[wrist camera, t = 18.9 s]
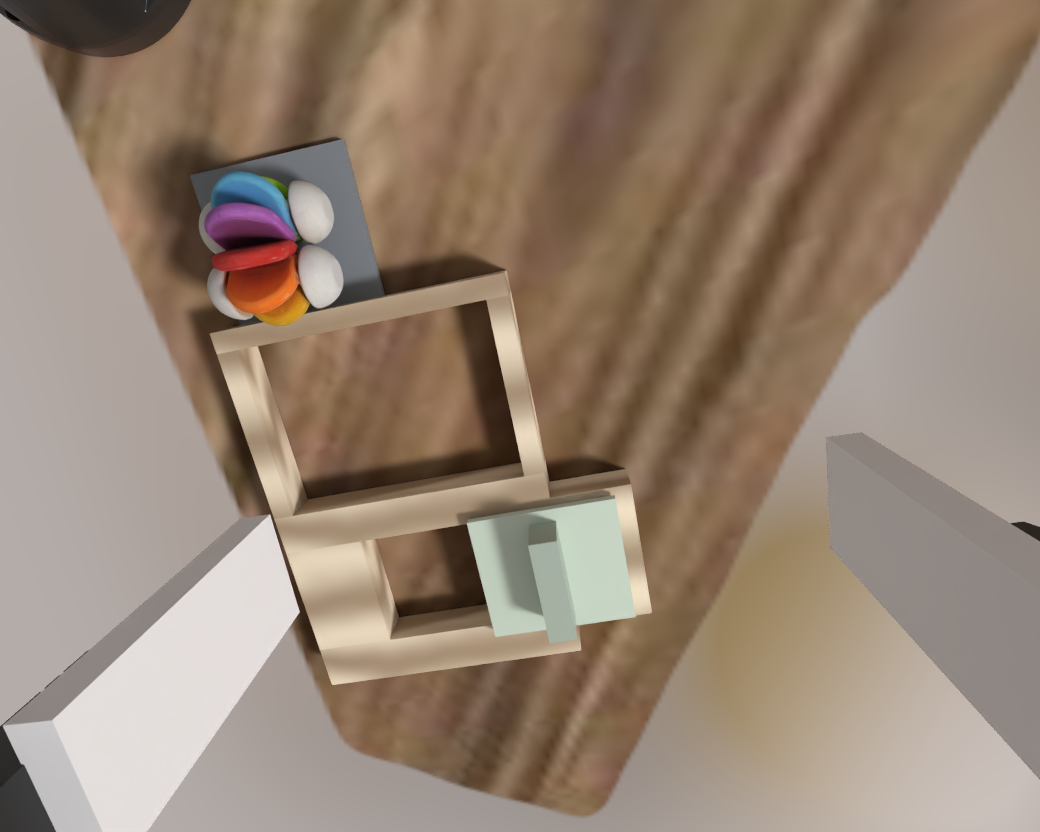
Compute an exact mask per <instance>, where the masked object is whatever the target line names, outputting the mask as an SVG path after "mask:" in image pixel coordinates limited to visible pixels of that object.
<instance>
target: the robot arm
mask: <svg viewBox="0 0 1040 832" xmlns="http://www.w3.org/2000/svg"><path fill="white" fill-rule="evenodd" d="M190 1H191V0H0V13H1V14H2V15H3V16H4V17H6V18H7V19H8V20H10V21H11V22H12V23H14V24H15V25H17V26H18V27H20V28H22V29H23V30H25V31H27V32H29V33H30V34H32V35H34V36H36V37H38V38H40V39H43V40H45V41H48V42H50V43H53V44H55V45H58V46H61V47H63V48H66V49H68V50H71V51H74V52H77V53H81V54H85V55H90V56H98V57H115V56H123V55H127V54H131V53H135V52H138V51H140V50H142V49H145V48H147V47H149V46H150V45H152V44H154V43H155V42H157V41H158V40H160V39H161V38H162V37H163V36H165V35H166V34H167V33H168V32H169V31H170V30H171V29H172V28H173V27H174V26H175V25H176V23H177V22H178V21H179V19H180V18H181V17H182V15H183V14H184V12H185V10H186V9H187V7H188V5H189V3H190ZM826 453H827V478H828V505H829V532H830V548H831V549H832V551H833V552H834V553H835V554H836V555H837V556H838V557H839V558H840V559H841V561H843V563H844V564H845V565H846V566H847V567H848V568H849V569H850V570H851V571H852V573H853V574H854V575H855V576H856V577H857V578H858V579H859V580H860V582H861V583H862V584H863V585H864V586H865V587H866V588H867V589H868V590H869V591H870V592H871V594H872V595H873V596H874V597H875V598H876V599H877V600H878V601H879V603H880V604H881V605H882V606H883V607H884V608H885V609H886V610H887V611H888V612H889V614H891V616H892V617H893V618H894V619H895V620H896V621H897V622H898V624H899V625H900V626H901V627H902V628H903V629H904V630H905V631H906V632H907V633H908V635H909V636H910V637H911V638H912V639H913V640H914V641H915V642H916V643H917V644H918V645H919V647H920V648H921V649H922V650H923V651H924V652H925V653H926V654H927V656H928V657H929V658H930V659H931V660H932V661H933V662H934V663H935V664H936V665H937V666H938V668H939V669H940V670H941V671H942V672H943V673H944V674H945V675H946V676H947V678H948V679H949V680H950V681H951V682H952V683H953V684H954V685H955V686H956V688H957V689H958V690H959V691H960V692H961V693H962V694H963V695H964V696H965V698H967V700H968V701H969V702H970V703H971V704H972V705H973V706H974V707H975V708H976V709H977V711H978V712H979V713H980V714H981V715H982V716H983V717H984V718H985V720H986V721H987V722H988V723H989V724H990V725H991V726H992V727H993V728H994V730H996V732H997V733H998V734H999V735H1000V736H1001V737H1002V738H1003V739H1004V741H1005V742H1006V743H1007V744H1008V745H1009V746H1010V747H1011V748H1012V749H1013V750H1014V752H1015V753H1016V754H1017V755H1018V756H1019V757H1020V758H1021V759H1022V760H1023V762H1024V763H1025V764H1026V765H1027V766H1028V767H1029V768H1030V769H1031V770H1032V771H1033V773H1034V774H1035V775H1036V776H1037V777H1038V778H1039V779H1040V527H1038V526H1035V525H1032V524H1029V523H1026V522H1017V523H1009V522H1007V521H1005V520H1004V519H1002V518H1000V517H999V516H997V515H995V514H994V513H992V512H991V511H989V510H987V509H986V508H984V507H983V506H981V505H979V504H978V503H976V502H974V501H973V500H971V499H969V498H968V497H966V496H964V495H963V494H961V493H960V492H958V491H956V490H955V489H953V488H952V487H950V486H948V485H947V484H945V483H943V482H942V481H940V480H939V479H937V478H935V477H934V476H932V475H930V474H929V473H927V472H925V471H924V470H922V469H921V468H919V467H917V466H916V465H914V464H912V463H911V462H909V461H908V460H906V459H904V458H903V457H901V456H899V455H898V454H896V453H895V452H893V451H891V450H890V449H888V448H886V447H885V446H883V445H881V444H880V443H878V442H877V441H875V440H873V439H872V438H870V437H868V436H867V435H865V434H864V433H853V434H846V435H839V436H832V437H826ZM299 612H300V611H299V608H298V605H297V601H296V598H295V595H294V592H293V588H292V585H291V582H290V578H289V575H288V572H287V569H286V565H285V562H284V559H283V555H282V552H281V549H280V546H279V542H278V539H277V536H276V532H275V529H274V526H273V523H272V519H271V516H270V514H269V515H262V516H255V517H247V518H241V519H239V520H238V521H237V522H236V523H235V524H234V525H233V526H231V527H230V528H229V529H228V530H227V531H226V532H225V533H223V534H222V535H221V536H220V537H219V538H218V539H216V540H215V541H214V542H213V543H212V544H211V545H210V546H208V547H207V548H206V549H205V550H204V551H203V552H202V553H200V554H199V555H198V556H197V557H196V558H195V559H193V560H192V561H191V562H190V563H189V564H188V565H187V566H186V567H184V568H183V569H182V570H181V571H180V572H179V573H177V574H176V575H175V576H174V577H173V578H172V579H170V580H169V581H168V582H167V583H166V584H165V585H164V586H163V587H161V588H160V589H159V590H158V591H157V592H156V593H154V594H153V595H152V596H151V597H150V598H149V599H148V600H146V601H145V602H144V603H143V604H142V605H141V606H139V607H138V608H137V609H136V610H135V611H134V612H133V613H131V614H130V615H129V616H128V617H127V618H126V619H125V620H123V621H122V622H121V623H120V624H119V625H118V626H116V627H115V628H114V629H113V630H112V631H111V632H110V633H108V634H107V635H106V636H105V637H104V638H103V639H102V640H100V641H99V642H98V643H97V644H96V645H95V646H93V647H92V648H91V649H90V650H89V651H87V652H85V653H84V654H83V655H82V656H81V657H80V658H79V659H77V660H76V661H75V662H74V663H73V664H72V665H70V666H69V667H68V668H67V669H66V670H65V671H64V673H63V674H61V675H59V676H58V677H57V678H56V679H54V680H53V681H52V682H51V683H50V684H49V685H47V686H46V687H45V689H44V690H43V691H42V692H39V693H38V694H37V695H36V696H35V697H34V698H32V699H31V700H30V701H29V702H28V703H27V704H26V705H24V706H23V707H22V708H21V709H20V710H19V711H18V712H16V713H15V714H14V715H13V716H12V717H11V718H10V719H8V720H7V721H6V722H5V723H4V724H3V725H1V726H0V832H147V831H148V830H149V828H150V827H151V825H152V824H153V822H154V821H155V819H156V818H157V817H158V815H159V814H160V812H161V811H162V809H163V808H164V807H165V805H166V803H167V802H168V801H169V799H170V798H171V797H172V795H173V794H174V792H175V791H176V789H177V788H178V786H179V785H180V784H181V782H182V781H183V779H184V778H185V776H186V775H187V773H188V772H189V770H190V769H191V768H192V766H193V765H194V763H195V762H196V761H197V759H198V758H199V756H200V755H201V753H202V752H203V751H204V749H205V748H206V746H207V745H208V743H209V742H210V740H211V739H212V738H213V736H214V734H215V733H216V732H217V730H218V729H219V728H220V726H221V725H222V723H223V722H224V720H225V719H226V717H227V716H228V714H229V713H230V712H231V710H232V709H233V707H234V706H235V704H236V703H237V702H238V700H239V699H240V697H241V696H242V694H243V693H244V691H245V690H246V689H247V687H248V686H249V684H250V683H251V681H252V680H253V679H254V677H255V676H256V674H257V673H258V671H259V670H260V668H261V667H262V666H263V664H264V662H265V661H266V660H267V658H268V657H269V655H270V654H271V653H272V651H273V650H274V648H275V647H276V645H277V644H278V643H279V641H280V640H281V638H282V637H283V635H284V634H285V633H286V631H287V630H288V628H289V627H290V625H291V624H292V623H293V621H294V620H295V618H296V617H297V615H298V614H299Z"/></svg>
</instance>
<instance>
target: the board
mask: <svg viewBox="0 0 1040 832" xmlns="http://www.w3.org/2000/svg"><path fill="white" fill-rule="evenodd" d="M483 300H486V301H487V306H488V310H489V315H490V319H491V324H492V329H493V333H494V338H495V343H496V347H497V352H498V357H499V361H500V366H501V370H502V375H503V380H504V384H505V389H506V394H507V398H508V403H509V407H510V412H511V417H512V421H513V426H514V431H515V435H516V440H517V444H518V449H519V454H520V458H521V463H515V464H509V465H503V466H498V467H492V468H486V469H480V470H475V471H469V472H463V473H457V474H451V475H446V476H440V477H434V478H428V479H423V480H417V481H411V482H405V483H400V484H394V485H388V486H382V487H377V488H371V489H365V490H359V491H354V492H348V493H342V494H336V495H330V496H325V497H319V498H313V499H308V498H307V495H306V492H305V489H304V486H303V483H302V480H301V477H300V474H299V471H298V468H297V465H296V462H295V459H294V456H293V453H292V450H291V447H290V443H289V440H288V437H287V434H286V431H285V428H284V425H283V422H282V419H281V416H280V413H279V410H278V407H277V404H276V401H275V398H274V395H273V392H272V389H271V386H270V383H269V380H268V377H267V373H266V370H265V367H264V364H263V361H262V358H261V355H260V352H259V349H258V346H261V345H265V344H270V343H275V342H280V341H285V340H290V339H295V338H300V337H305V336H310V335H315V334H320V333H325V332H330V331H335V330H339V329H344V328H349V327H354V326H359V325H364V324H369V323H374V322H379V321H384V320H389V319H394V318H399V317H404V316H409V315H413V314H418V313H423V312H428V311H433V310H438V309H443V308H448V307H453V306H458V305H463V304H468V303H473V302H478V301H483ZM210 336H211V339H212V342H213V345H214V348H215V351H216V354H217V356H218V359H219V362H220V365H221V368H222V371H223V374H224V377H225V379H226V382H227V385H228V388H229V391H230V394H231V397H232V399H233V402H234V405H235V408H236V411H237V414H238V417H239V419H240V422H241V425H242V428H243V431H244V434H245V437H246V440H247V442H248V445H249V448H250V451H251V454H252V457H253V460H254V462H255V465H256V468H257V471H258V474H259V477H260V480H261V482H262V485H263V488H264V491H265V494H266V497H267V500H268V503H269V505H270V508H271V511H272V514H273V517H274V520H275V523H276V525H277V528H278V531H279V534H280V537H281V540H282V543H283V545H284V548H285V551H286V554H287V557H288V560H289V563H290V566H291V568H292V571H293V574H294V577H295V580H296V583H297V586H298V588H299V591H300V594H301V597H302V600H303V603H304V606H305V609H306V611H307V614H308V617H309V620H310V623H311V626H312V629H313V631H314V634H315V637H316V640H317V643H318V646H319V649H320V651H321V654H322V657H323V660H324V663H325V666H326V669H327V672H328V674H329V677H330V680H331V683H332V685H336V684H343V683H351V682H358V681H365V680H372V679H379V678H386V677H393V676H401V675H408V674H415V673H422V672H429V671H436V670H444V669H451V668H458V667H465V666H472V665H479V664H487V663H494V662H501V661H508V660H515V659H522V658H529V657H537V656H544V655H551V654H558V653H565V652H572V651H580V650H581V643H580V630H579V625H576V632H577V640H570V641H563V642H556V643H549V638H548V634H547V630H541V631H534V632H527V633H520V634H513V635H506V636H499V637H495V634H494V630H493V626H492V622H491V618H490V614H489V610H488V606H487V604H484V605H477V606H471V607H464V608H457V609H451V610H444V611H437V612H431V613H424V614H417V615H411V616H404V617H399V616H398V612H397V609H396V606H395V602H394V599H393V596H392V592H391V589H390V586H389V582H388V579H387V576H386V572H385V569H384V566H383V562H382V559H381V556H380V552H379V549H378V546H377V542H376V539H379V538H385V537H391V536H397V535H403V534H409V533H415V532H421V531H427V530H433V529H440V528H446V527H452V526H458V525H464V524H467V520H468V519H473V518H479V517H485V516H491V515H497V514H504V513H510V512H516V511H522V510H528V509H534V508H540V507H546V506H552V505H558V504H564V503H570V502H576V501H582V500H588V499H594V498H600V497H606V496H612V495H615V499H616V505H617V511H618V517H619V522H620V528H621V534H622V540H623V546H624V551H625V557H626V563H627V569H628V575H629V580H630V586H631V592H632V598H633V604H634V609H635V615H640V614H647V613H652V611H651V604H650V598H649V592H648V586H647V580H646V574H645V568H644V562H643V555H642V549H641V543H640V537H639V531H638V525H637V519H636V513H635V507H634V500H633V494H632V488H631V483H630V480H629V477H628V474H627V471H626V469H622V470H616V471H610V472H604V473H598V474H593V475H587V476H581V477H575V478H569V479H563V480H557V481H551V482H550V481H549V476H548V471H547V466H546V461H545V456H544V451H543V447H542V442H541V437H540V432H539V427H538V422H537V417H536V412H535V407H534V402H533V398H532V393H531V388H530V383H529V378H528V373H527V368H526V363H525V358H524V353H523V349H522V344H521V339H520V334H519V329H518V324H517V319H516V314H515V309H514V304H513V300H512V295H511V290H510V285H509V280H508V275H507V270H505V271H500V272H495V273H490V274H485V275H480V276H476V277H471V278H466V279H461V280H456V281H451V282H447V283H442V284H437V285H432V286H427V287H422V288H418V289H413V290H408V291H403V292H398V293H393V294H389V295H384V296H381V297H376V298H371V299H366V300H362V301H357V302H352V303H347V304H342V305H337V306H333V307H328V308H323V309H318V310H313V311H308V312H305V314H304V315H303V316H302V317H301V318H300V319H298V320H297V321H295V322H294V323H292V324H289V325H286V326H273V325H270V324H267V323H265V322H263V321H260V322H255V323H250V324H246V325H241V326H240V325H239V326H234V327H230V328H227V329H223V330H220V331H216V332H213V333H210Z"/></svg>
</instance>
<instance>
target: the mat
mask: <svg viewBox="0 0 1040 832" xmlns="http://www.w3.org/2000/svg"><path fill="white" fill-rule="evenodd" d="M234 171H245V172H250V173H253V174H256V175H258V176H264V177H269V178H272V179H274V180H276V181H278V182H280V183H282V184H283V185H284V186H285V187H287V188H289V185H290V183H291V182H292V181H306V182H309V183H312V184H314V185H316V186H317V187H319V188H320V189H321V190H322V191H323V192H324V193H325V194H326V195H327V197H328V198H329V200H330V203H331V205H332V209H333V213H334V223H333V227H332V229H331V232H330V233H329V235H328V236H327V237H326V238H325V239H324V240H322V241H321V242H319V243H317V244H314V245H313V246H318V247H321V248H323V249H325V250H327V251H328V252H330V253H331V254H332V255H333V256H334V257H335V258H336V259H337V261H338V262H339V264H340V266H341V269H342V273H343V288H342V291H341V293H340V295H339V296H338V298H337V299H336V300H335V301H334V302H333V303H331V304H330V305H328V306H326V307H323V308H328V307H333V306H337V305H342V304H347V303H352V302H357V301H362V300H366V299H371V298H376V297H381V296H384V295H385V292H384V289H383V285H382V281H381V277H380V273H379V270H378V266H377V262H376V258H375V254H374V251H373V247H372V243H371V239H370V235H369V231H368V228H367V224H366V220H365V216H364V212H363V209H362V205H361V201H360V197H359V193H358V190H357V186H356V182H355V178H354V174H353V170H352V167H351V163H350V159H349V155H348V151H347V148H346V144H345V141H344V140H342V139H341V140H337V141H333V142H329V143H324V144H320V145H316V146H312V147H308V148H303V149H299V150H295V151H291V152H286V153H282V154H278V155H274V156H269V157H265V158H261V159H257V160H253V161H248V162H244V163H240V164H236V165H231V166H227V167H223V168H219V169H214V170H210V171H206V172H202V173H198V174H193V175H190V178H191V181H192V184H193V187H194V190H195V193H196V196H197V199H198V202H199V205H200V208H201V211H202V210H203V209H204V207H205V206H206V205H207V204H208V203H209V202H211V194H212V190H213V188H214V185H215V184H216V182H217V181H218V180H219V179H220V178H221V177H222V176H223V175H225V174H227V173H229V172H234ZM295 244H296V245H297V247H298V251H297V253H299V251H300V250H301V248H302V247H304V246H306V245H311V244H309V243H307V242H306V241H305V240H303V241H301V242H299V243H295ZM323 308H316V307H314V306H313V305H312V304H311V303H310V305H309V307H308V309H307V311H306V312H308V311H313V310H318V309H323ZM260 321H261V320H260V319H258V318H257V317H256V316H255V315H253V317H252V318H250V319H247V320H239V319H238V322H239V325H240V326H241V325H246V324H250V323H255V322H260Z"/></svg>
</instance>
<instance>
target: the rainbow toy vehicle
mask: <svg viewBox="0 0 1040 832" xmlns="http://www.w3.org/2000/svg"><path fill="white" fill-rule="evenodd" d="M333 223H334V213H333V209H332V205H331V203H330V200H329V198H328V197H327V195H326V194H325V193H324V192H323V191H322V190H321V189H320V188H319V187H317V186H316V185H314V184H312V183H309V182H306V181H292V182H291V183H290V185H289V188H287V187H285V186H284V185H283V184H282V183H280V182H278V181H276V180H274V179H272V178H269V177H264V176H258V175H256V174H253V173H250V172H245V171H234V172H229V173H227V174H225V175H223V176H222V177H221V178H220V179H219V180H218V181H217V182H216V184H215V185H214V188H213V190H212V194H211V202H209V203H208V204H207V205H206V206H205V207H204V209H203V210H202V212H201V214H200V218H199V231H200V235H201V237H202V239H203V241H204V243H205V244H206V246H207V247H208V248H209V249H210V250H211V251H212V252H214V253H215V255H213V256H212V258H211V262H212V265H213V267H214V268H213V269H212V271H211V272H210V274H209V277H208V282H207V290H208V294H209V297H210V299H211V301H212V303H213V304H214V306H215V307H216V308H217V309H218V310H219V311H220V312H222V313H223V314H225V315H227V316H229V317H231V318H234V319H239V320H247V319H250V318H252V317H253V315H255V316H256V317H257V318H258V319H260V320H261V321H263V322H265V323H267V324H270V325H273V326H286V325H289V324H292V323H294V322H295V321H297V320H298V319H300V318H301V317H302V316H303V315H304V314H305V312H306V311H307V309H308V307H309V305H310V303H311V304H312V305H313V306H314V307H316V308H323V307H326V306H328V305H330V304H331V303H333V302H334V301H335V300H336V299H337V298H338V296H339V295H340V293H341V291H342V288H343V273H342V269H341V266H340V264H339V262H338V261H337V259H336V258H335V257H334V256H333V255H332V254H331V253H330V252H328V251H327V250H325V249H323V248H321V247H318V246H313V245H314V244H317V243H319V242H321V241H322V240H324V239H325V238H326V237H327V236H328V235H329V233H330V232H331V229H332V227H333ZM303 240H305V241H306V242H307V243H309V244H311V245H306V246H304V247H302V248H301V250H300V251H299V253H297V251H298V247H297V245H296V244H295V243H299V242H301V241H303Z"/></svg>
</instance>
